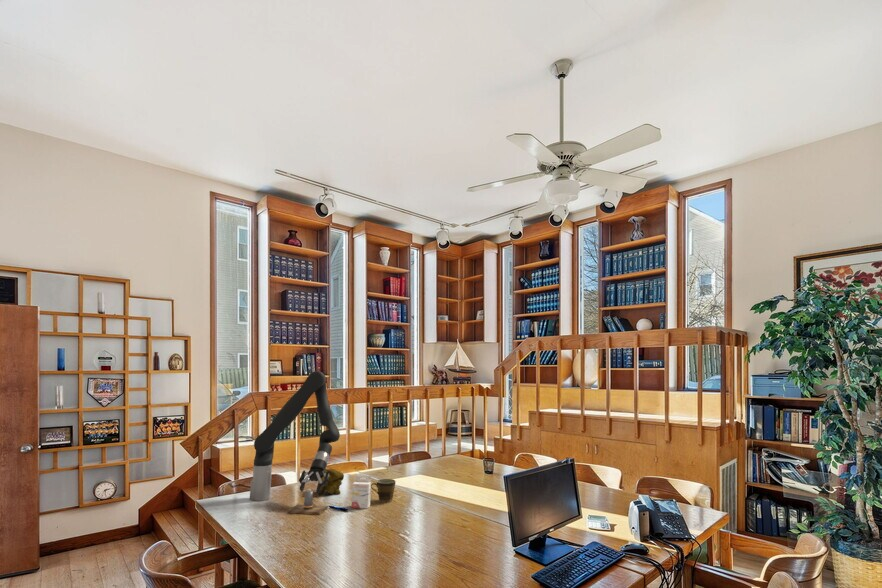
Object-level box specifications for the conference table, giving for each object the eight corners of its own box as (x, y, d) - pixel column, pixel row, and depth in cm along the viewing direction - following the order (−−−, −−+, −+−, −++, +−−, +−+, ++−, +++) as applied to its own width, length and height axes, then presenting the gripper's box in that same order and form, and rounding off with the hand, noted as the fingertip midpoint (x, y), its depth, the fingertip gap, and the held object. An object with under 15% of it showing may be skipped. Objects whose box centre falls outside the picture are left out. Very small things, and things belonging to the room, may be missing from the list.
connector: (302, 508, 230) (303, 490, 231) (306, 506, 234) (306, 488, 235) (310, 509, 229) (311, 490, 230) (313, 506, 233) (314, 488, 234)
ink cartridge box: (351, 508, 237) (352, 477, 239) (353, 505, 241) (355, 474, 244) (368, 508, 236) (369, 477, 238) (370, 505, 241) (371, 475, 243)
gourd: (318, 490, 269) (319, 464, 271) (343, 489, 271) (344, 463, 273) (315, 497, 256) (316, 470, 258) (342, 496, 258) (343, 469, 259)
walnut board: (287, 513, 228) (288, 510, 228) (297, 506, 237) (297, 504, 237) (319, 514, 225) (319, 511, 225) (327, 508, 235) (327, 505, 235)
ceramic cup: (392, 497, 256) (393, 478, 257) (397, 502, 246) (397, 482, 248) (368, 499, 252) (369, 479, 253) (372, 504, 242) (372, 484, 244)
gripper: (305, 457, 245) (293, 486, 232) (331, 458, 243) (321, 488, 230) (309, 466, 250) (297, 494, 237) (334, 467, 247) (325, 496, 235)
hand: (309, 491), depth 233 cm, fingers open, 8 cm apart
